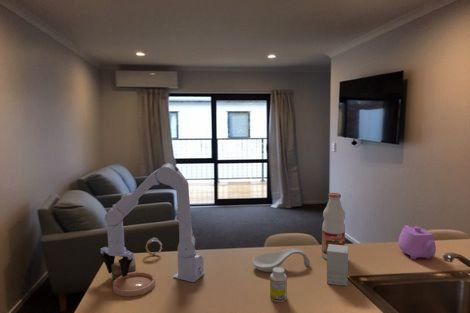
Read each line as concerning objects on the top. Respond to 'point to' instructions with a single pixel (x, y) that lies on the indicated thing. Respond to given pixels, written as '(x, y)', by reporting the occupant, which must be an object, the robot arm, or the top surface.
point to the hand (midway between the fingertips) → (118, 273)
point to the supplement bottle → (278, 285)
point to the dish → (134, 284)
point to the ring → (151, 242)
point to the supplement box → (337, 264)
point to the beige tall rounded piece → (132, 266)
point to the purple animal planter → (417, 242)
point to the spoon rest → (276, 259)
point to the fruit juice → (333, 223)
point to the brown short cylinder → (116, 270)
